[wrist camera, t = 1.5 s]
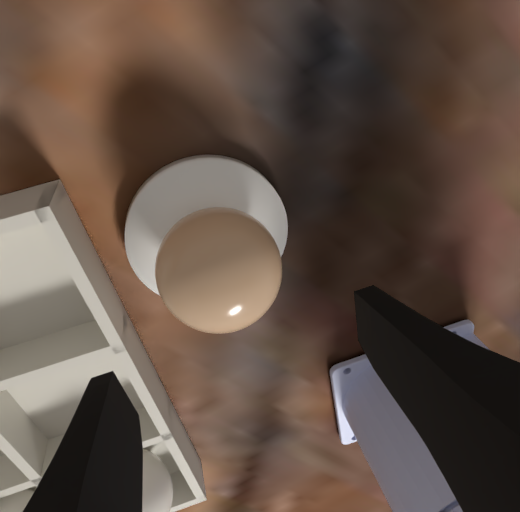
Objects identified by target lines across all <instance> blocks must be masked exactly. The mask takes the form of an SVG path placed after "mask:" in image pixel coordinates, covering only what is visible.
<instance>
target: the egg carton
mask: <svg viewBox="0 0 520 512" xmlns="http://www.w3.org/2000/svg"><path fill="white" fill-rule="evenodd" d="M111 371H113V372H114V373H115V375H116V377H117V378H118V380H119V382H120V384H121V385H122V387H123V389H124V390H125V392H126V394H127V395H128V397H129V399H130V401H131V402H132V404H133V406H134V407H135V409H136V411H137V413H138V414H139V419H140V427H141V436H142V446H143V449H146V450H148V451H151V452H152V453H154V454H155V455H157V456H158V457H159V458H160V459H161V460H162V461H163V462H164V464H165V465H166V466H167V468H168V470H169V473H170V475H171V478H172V484H173V500H172V505H171V509H170V512H175V511H178V510H181V509H183V508H186V507H189V506H191V505H194V504H197V503H200V502H202V501H205V500H207V499H206V492H205V485H204V478H203V471H202V464H201V460H200V458H199V456H198V454H197V452H196V450H195V448H194V446H193V444H192V442H191V440H190V438H189V436H188V434H187V432H186V430H185V428H184V426H183V424H182V422H181V420H180V418H179V416H178V414H177V412H176V410H175V408H174V406H173V404H172V402H171V400H170V398H169V396H168V394H167V392H166V390H165V388H164V386H163V384H162V382H161V380H160V378H159V376H158V374H157V372H156V370H155V368H154V366H153V364H152V362H151V360H150V358H149V356H148V354H147V352H146V350H145V348H144V346H143V344H142V342H141V340H140V338H139V336H138V334H137V332H136V330H135V328H134V326H133V324H132V322H131V320H130V318H129V316H128V314H127V312H126V310H125V308H124V306H123V304H122V302H121V300H120V298H119V296H118V294H117V292H116V290H115V288H114V286H113V284H112V282H111V280H110V278H109V276H108V274H107V272H106V270H105V268H104V266H103V264H102V262H101V260H100V258H99V256H98V254H97V252H96V250H95V248H94V246H93V244H92V242H91V240H90V238H89V236H88V234H87V232H86V230H85V228H84V226H83V224H82V222H81V220H80V218H79V216H78V214H77V212H76V210H75V208H74V206H73V204H72V202H71V200H70V198H69V196H68V194H67V192H66V190H65V188H64V186H63V184H62V182H61V180H60V179H59V180H55V181H52V182H48V183H44V184H41V185H37V186H33V187H30V188H26V189H23V190H19V191H15V192H12V193H8V194H5V195H1V196H0V498H2V497H5V496H8V495H11V494H14V493H17V492H19V491H22V490H25V489H28V490H31V491H34V492H35V490H36V488H37V486H38V484H39V482H40V481H41V479H42V477H43V475H44V473H45V471H46V470H47V468H48V466H49V464H50V462H51V460H52V459H53V457H54V455H55V453H56V451H57V449H58V447H59V445H60V443H61V441H62V439H63V437H64V435H65V432H66V430H67V428H68V426H69V424H70V422H71V420H72V418H73V416H74V414H75V411H76V409H77V407H78V405H79V403H80V400H81V398H82V396H83V394H84V392H85V389H86V387H87V385H88V383H89V381H90V379H91V378H93V377H96V376H99V375H102V374H105V373H108V372H111Z"/></svg>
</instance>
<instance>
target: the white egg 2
mask: <svg viewBox="0 0 520 512" xmlns="http://www.w3.org/2000/svg"><path fill="white" fill-rule="evenodd" d="M172 500H173V484H172V478H171V475H170V473H169V470H168V468H167V466H166V465H165V464H164V462H163V461H162V460H161V459H160V458H159V457H158V456H157V455H155V454H154V453H152V452H151V451H148V450H146V449H143V491H142V512H170V509H171V505H172Z"/></svg>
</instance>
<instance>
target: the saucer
mask: <svg viewBox="0 0 520 512" xmlns="http://www.w3.org/2000/svg"><path fill="white" fill-rule="evenodd" d="M210 207H227V208H233V209H237V210H240V211H242V212H245V213H247V214H249V215H251V216H252V217H254V218H255V219H257V220H258V221H259V222H260V223H262V224H263V225H264V226H265V227H266V229H267V230H268V231H269V232H270V234H271V235H272V237H273V238H274V240H275V242H276V244H277V247H278V249H279V252H280V256H282V254H283V252H284V248H285V245H286V241H287V235H288V222H287V215H286V211H285V208H284V205H283V203H282V201H281V199H280V197H279V195H278V194H277V192H276V191H275V189H274V188H273V186H272V185H271V184H270V183H269V181H268V180H267V179H266V178H265V177H264V176H263V175H262V174H261V173H260V172H259V171H258V170H256V169H255V168H253V167H252V166H250V165H248V164H246V163H244V162H242V161H240V160H237V159H234V158H231V157H227V156H222V155H209V154H206V155H195V156H190V157H186V158H182V159H179V160H177V161H174V162H172V163H170V164H168V165H166V166H164V167H162V168H161V169H159V170H158V171H156V172H155V173H154V174H152V175H151V176H150V177H149V178H148V179H147V180H146V181H145V182H144V183H143V184H142V185H141V187H140V188H139V189H138V191H137V192H136V194H135V195H134V197H133V199H132V201H131V203H130V206H129V208H128V212H127V216H126V222H125V248H126V254H127V257H128V260H129V263H130V265H131V267H132V269H133V270H134V272H135V274H136V275H137V276H138V278H139V279H140V280H141V281H142V282H143V283H144V284H145V285H146V286H147V287H148V288H149V289H151V290H152V291H153V292H155V293H156V294H158V295H160V294H159V291H158V288H157V284H156V279H155V262H156V256H157V253H158V250H159V247H160V244H161V242H162V240H163V238H164V237H165V236H166V234H167V233H168V231H169V230H170V229H171V228H172V227H173V226H174V225H175V224H176V223H177V222H178V221H179V220H180V219H182V218H183V217H185V216H187V215H189V214H191V213H193V212H195V211H198V210H201V209H205V208H210Z"/></svg>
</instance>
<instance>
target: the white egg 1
mask: <svg viewBox="0 0 520 512" xmlns="http://www.w3.org/2000/svg"><path fill="white" fill-rule="evenodd" d="M33 493H34V491H31V490H28V489H25V490H22V491H19V492H17V493H14V494H11V495H8V496H5V497H2V498H0V512H23V510H24V508H25V507H26V505H27V503H28V502H29V500H30V498H31V497H32V495H33Z"/></svg>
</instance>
